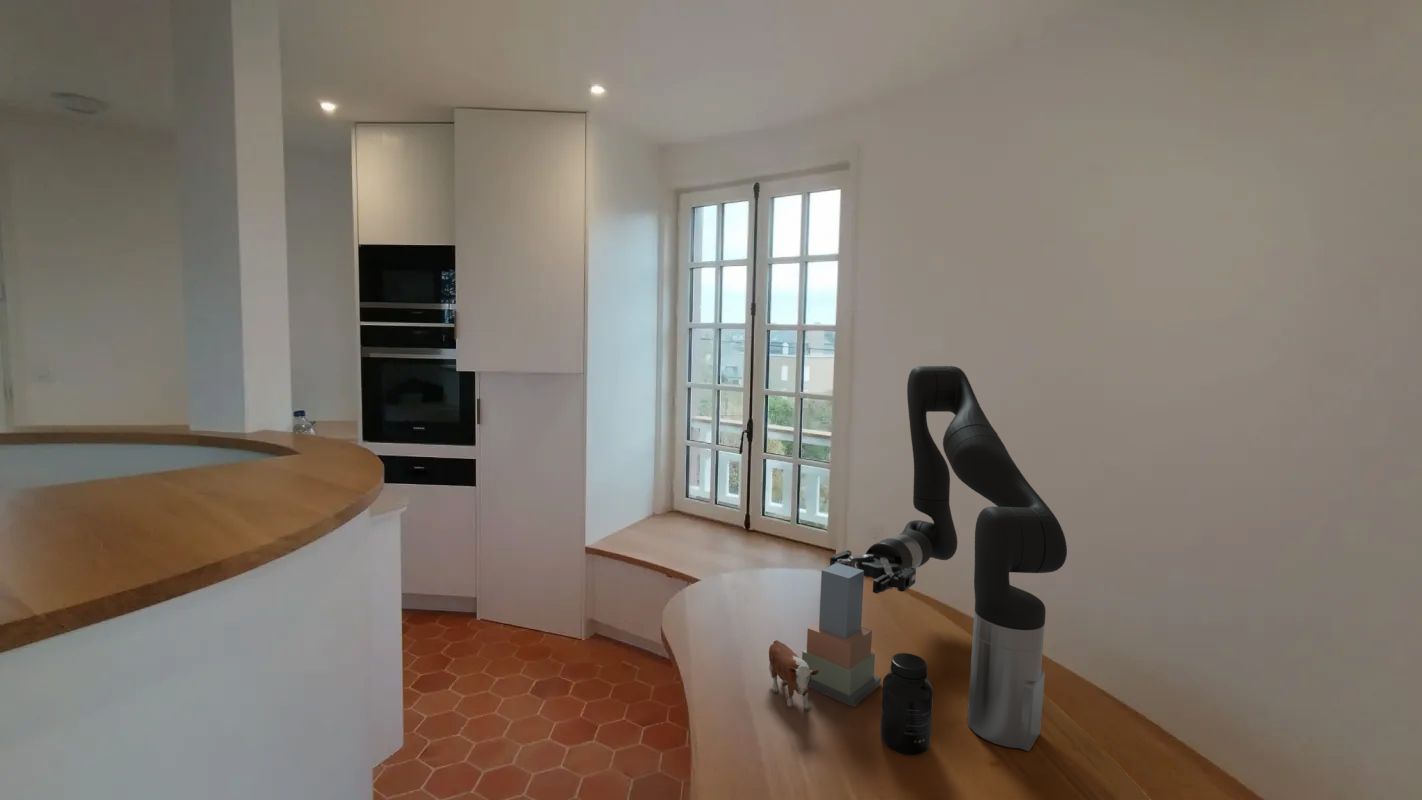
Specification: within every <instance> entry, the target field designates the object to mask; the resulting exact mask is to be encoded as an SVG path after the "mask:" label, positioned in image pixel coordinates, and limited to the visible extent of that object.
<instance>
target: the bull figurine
mask: <svg viewBox="0 0 1422 800" xmlns="http://www.w3.org/2000/svg"><path fill="white" fill-rule="evenodd" d="M769 646H770V647H769V650H768V659H769V660H768V661H769V672H770V677H771V679H773V683H772V688H773V690H772V691H773V692H774V693H775V694H778V693H780V688H779V685H778V677H779V679H781V681H782V682H781V683H782V684H783V685H787V693H788V698H787V700H786V702H787V703H786V705H787V706H786V707H787V708H789V709H792V708H793V707H794V702H793V697H794V694H795V692H796V693H797V695H799V696H801V695H802V697H803V703H802V704H803V709H804V710H805V711H810V710H811V706H810V703H809V699H808V698H809V691H808V690H809V687H808V685H809V684H810V682H811V675H816V674H818V672H819V671H818V670H810V668H809V666H808V664H807V663H806V662H805V661H804V660H803V659H802V657H800V656H798V655H797V654H796V653H795V652H794V651H793V650H792V649H791V648H790V647H789V646H787V644H785V643H783V642H782V641H779V640H778V639H777V640H774V641H773V642H772V644H770V645H769ZM794 691H795V692H794Z"/></svg>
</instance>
